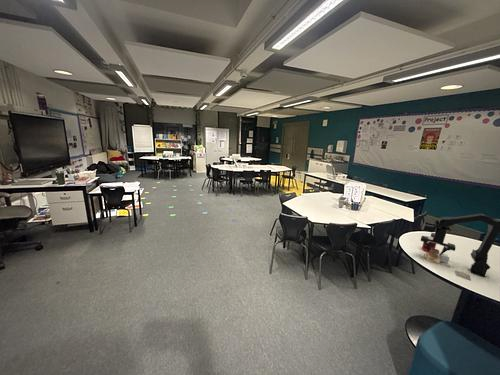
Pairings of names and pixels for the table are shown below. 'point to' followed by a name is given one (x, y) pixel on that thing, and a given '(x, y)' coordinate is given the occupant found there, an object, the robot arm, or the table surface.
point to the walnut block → (434, 253)
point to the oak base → (432, 258)
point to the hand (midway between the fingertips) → (434, 253)
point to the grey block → (444, 258)
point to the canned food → (431, 245)
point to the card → (463, 275)
